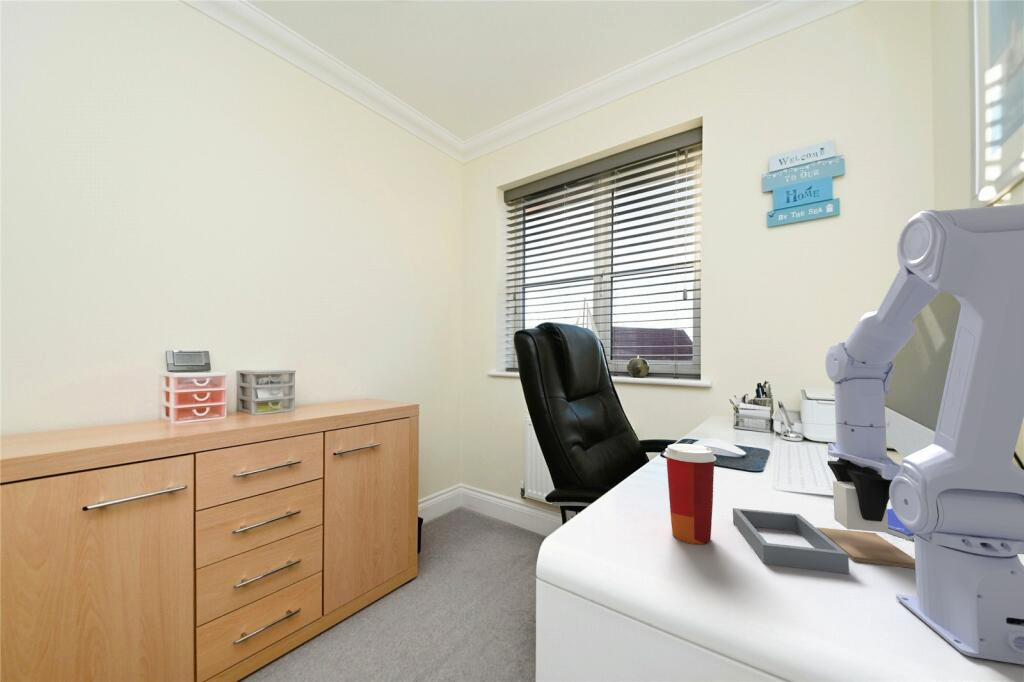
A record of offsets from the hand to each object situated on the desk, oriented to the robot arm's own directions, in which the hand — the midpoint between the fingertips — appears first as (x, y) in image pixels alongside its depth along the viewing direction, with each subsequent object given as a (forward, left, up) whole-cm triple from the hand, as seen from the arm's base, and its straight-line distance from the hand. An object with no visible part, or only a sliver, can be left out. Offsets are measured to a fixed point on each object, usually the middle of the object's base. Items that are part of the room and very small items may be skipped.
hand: (863, 514), depth 58 cm
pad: (0, 0, -5) cm, 5 cm away
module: (0, 0, -2) cm, 2 cm away
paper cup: (-3, +25, -5) cm, 25 cm away
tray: (-2, +12, -5) cm, 13 cm away
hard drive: (+12, -11, -6) cm, 17 cm away
